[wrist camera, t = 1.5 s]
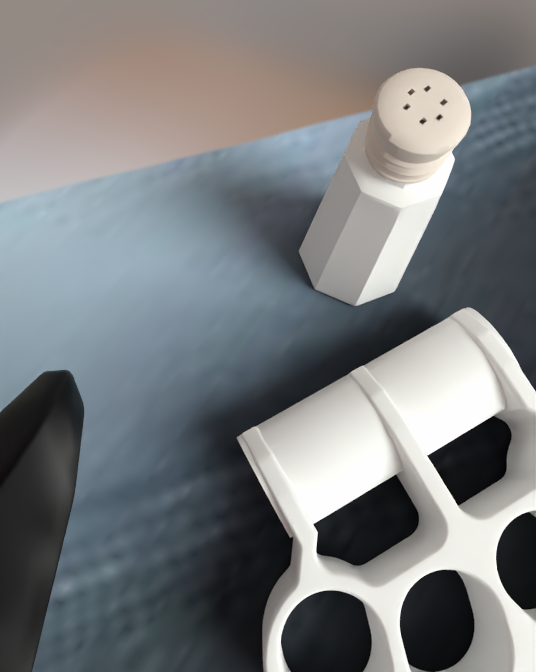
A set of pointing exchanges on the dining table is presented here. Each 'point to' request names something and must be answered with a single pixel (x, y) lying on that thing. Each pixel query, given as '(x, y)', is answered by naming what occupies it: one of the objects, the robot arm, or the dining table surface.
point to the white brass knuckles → (419, 482)
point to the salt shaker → (386, 187)
